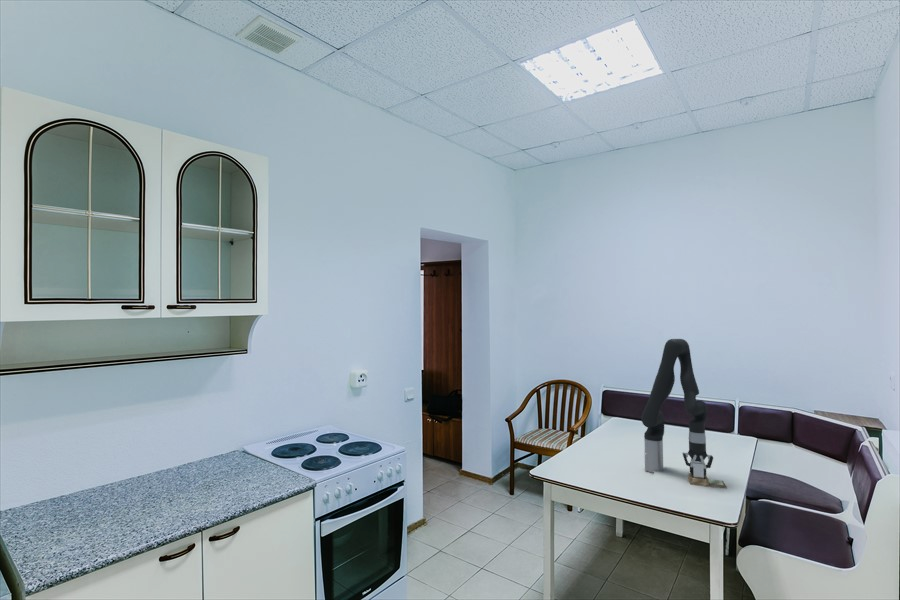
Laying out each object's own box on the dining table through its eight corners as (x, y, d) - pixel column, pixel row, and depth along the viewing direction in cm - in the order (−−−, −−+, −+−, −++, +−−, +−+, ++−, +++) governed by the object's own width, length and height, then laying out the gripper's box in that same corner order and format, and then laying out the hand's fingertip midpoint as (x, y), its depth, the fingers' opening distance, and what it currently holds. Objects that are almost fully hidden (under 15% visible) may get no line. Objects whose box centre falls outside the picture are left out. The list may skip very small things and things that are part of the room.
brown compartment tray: (690, 486, 222) (690, 478, 222) (687, 478, 232) (687, 470, 232) (727, 490, 216) (727, 482, 216) (723, 482, 226) (722, 474, 226)
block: (693, 483, 223) (693, 463, 223) (692, 480, 227) (692, 460, 227) (704, 484, 221) (703, 464, 221) (702, 481, 225) (702, 461, 225)
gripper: (682, 441, 224) (683, 475, 223) (714, 444, 218) (715, 479, 218) (680, 437, 231) (681, 470, 230) (712, 440, 225) (713, 474, 225)
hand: (698, 474), depth 224 cm, fingers closed on block, 4 cm apart
